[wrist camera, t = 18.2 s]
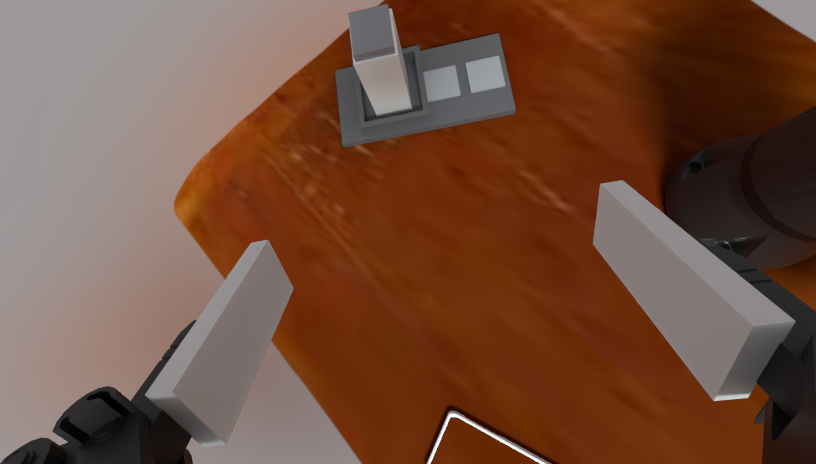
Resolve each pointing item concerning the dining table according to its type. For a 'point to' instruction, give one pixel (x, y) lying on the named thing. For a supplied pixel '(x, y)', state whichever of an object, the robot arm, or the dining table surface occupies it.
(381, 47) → the plug
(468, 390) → the dining table surface
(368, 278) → the dining table surface
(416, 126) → the grey socket base plate
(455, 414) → the silver rectangular frame
